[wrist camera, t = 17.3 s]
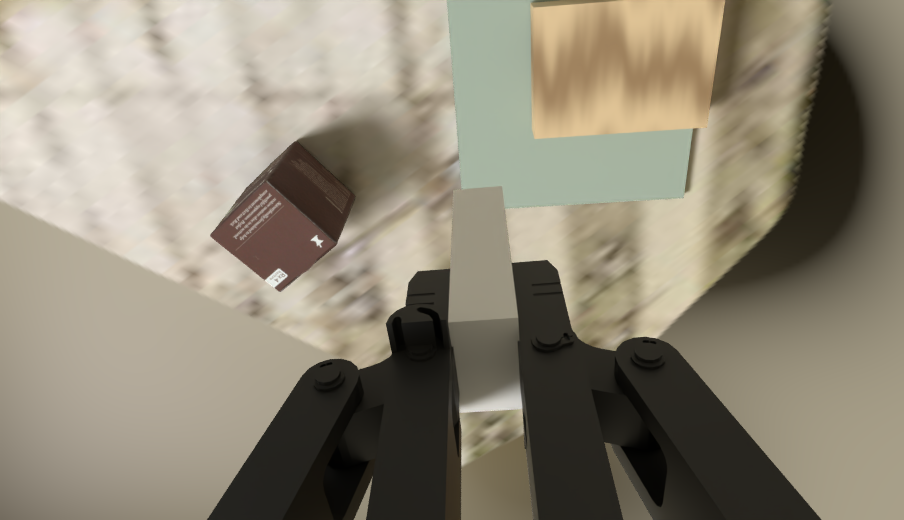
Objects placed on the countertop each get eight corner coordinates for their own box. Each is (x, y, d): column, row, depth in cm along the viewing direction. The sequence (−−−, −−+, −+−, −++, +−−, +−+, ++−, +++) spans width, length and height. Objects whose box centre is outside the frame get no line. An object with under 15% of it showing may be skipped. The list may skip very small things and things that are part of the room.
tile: (533, 7, 35) (726, -8, 34) (530, 2, 36) (713, -13, 36) (534, 139, 39) (706, 127, 38) (531, 128, 41) (695, 117, 40)
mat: (439, -105, 34) (438, -105, 34) (723, -132, 33) (727, -132, 33) (463, 207, 44) (463, 211, 44) (681, 194, 43) (683, 198, 43)
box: (297, 137, 42) (266, 178, 36) (358, 196, 44) (339, 244, 38) (244, 189, 44) (206, 235, 38) (305, 242, 46) (278, 295, 40)
